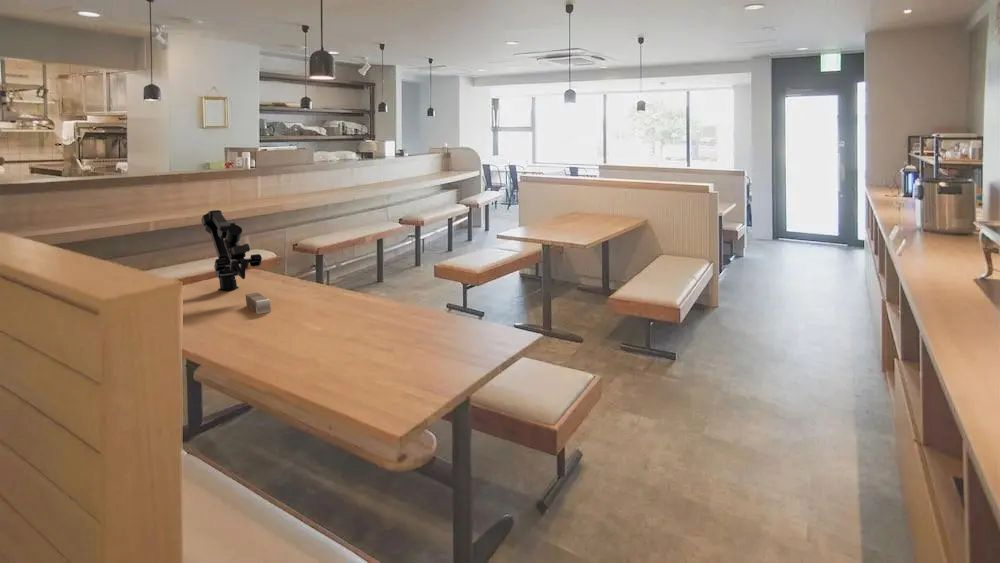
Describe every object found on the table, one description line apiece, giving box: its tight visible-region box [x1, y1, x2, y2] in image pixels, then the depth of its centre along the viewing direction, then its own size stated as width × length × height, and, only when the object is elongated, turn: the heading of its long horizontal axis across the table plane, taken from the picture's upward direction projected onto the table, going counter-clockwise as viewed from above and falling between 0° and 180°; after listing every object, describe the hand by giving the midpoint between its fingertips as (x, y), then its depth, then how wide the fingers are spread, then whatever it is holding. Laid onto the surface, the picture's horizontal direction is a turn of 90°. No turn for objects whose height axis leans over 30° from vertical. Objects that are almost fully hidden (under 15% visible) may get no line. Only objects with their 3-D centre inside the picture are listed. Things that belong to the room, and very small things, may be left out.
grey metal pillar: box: [245, 292, 272, 315], centre depth 255 cm, size 5×5×15 cm
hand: (243, 278), depth 266 cm, fingers closed
